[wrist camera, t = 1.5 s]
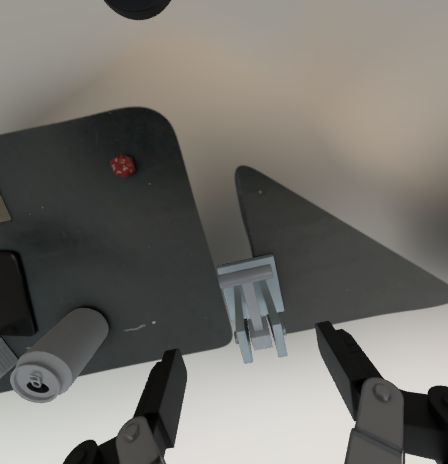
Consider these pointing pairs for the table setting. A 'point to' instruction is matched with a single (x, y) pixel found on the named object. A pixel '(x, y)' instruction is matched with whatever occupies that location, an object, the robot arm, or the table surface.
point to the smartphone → (14, 298)
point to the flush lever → (251, 301)
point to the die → (122, 165)
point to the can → (59, 356)
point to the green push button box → (3, 212)
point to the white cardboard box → (6, 358)
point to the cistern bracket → (267, 303)
